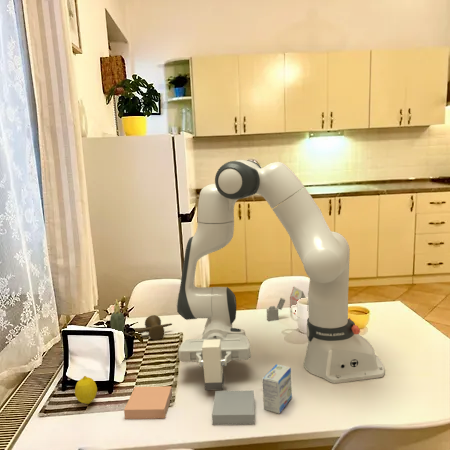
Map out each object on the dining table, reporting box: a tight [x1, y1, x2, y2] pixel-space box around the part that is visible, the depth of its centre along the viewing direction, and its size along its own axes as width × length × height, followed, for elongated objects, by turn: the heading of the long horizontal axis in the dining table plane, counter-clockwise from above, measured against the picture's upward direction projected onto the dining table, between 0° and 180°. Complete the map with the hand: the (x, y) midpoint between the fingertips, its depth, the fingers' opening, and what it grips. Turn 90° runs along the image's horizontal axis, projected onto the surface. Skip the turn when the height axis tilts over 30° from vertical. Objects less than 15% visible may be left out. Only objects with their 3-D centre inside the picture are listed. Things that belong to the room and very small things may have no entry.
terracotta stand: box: [123, 385, 173, 420], centre depth 107 cm, size 10×10×2 cm
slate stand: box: [211, 389, 256, 426], centre depth 103 cm, size 10×10×2 cm
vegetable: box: [109, 298, 128, 357], centre depth 130 cm, size 4×4×20 cm
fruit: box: [74, 375, 98, 405], centre depth 109 cm, size 6×6×8 cm
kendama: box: [132, 314, 173, 341], centre depth 148 cm, size 6×10×20 cm
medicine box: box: [261, 363, 293, 415], centre depth 105 cm, size 8×4×9 cm, turn 148°
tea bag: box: [289, 286, 307, 312], centre depth 161 cm, size 4×7×10 cm, turn 21°
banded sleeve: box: [202, 339, 225, 391], centre depth 111 cm, size 5×5×12 cm
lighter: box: [266, 297, 286, 322], centre depth 157 cm, size 7×2×8 cm, turn 104°
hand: (212, 364), depth 110 cm, fingers closed on banded sleeve, 4 cm apart
